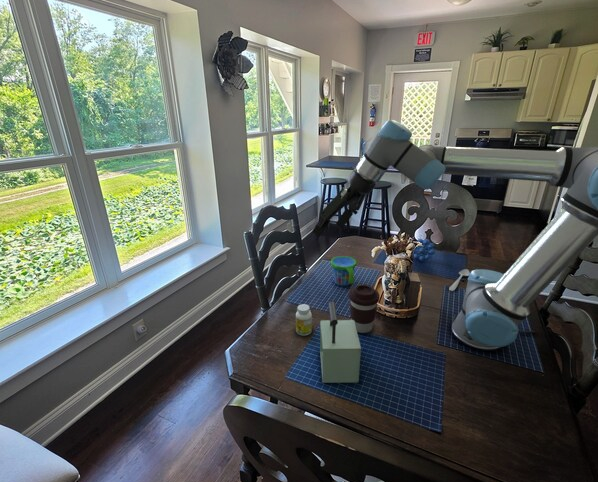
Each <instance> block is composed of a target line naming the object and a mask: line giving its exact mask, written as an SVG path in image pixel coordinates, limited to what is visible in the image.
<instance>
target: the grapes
mask: <svg viewBox="0 0 598 482" xmlns="http://www.w3.org/2000/svg"><path fill="white" fill-rule="evenodd" d="M417 241H419V242H421V243H422V245H423V246H418V247H416V248H415V250H414V254H413V255H414V257H413V259H415V260H419V262H424V261H428V260H431V259H432V257H433V256H432V255H434V254H435V253H436V250H435V249H434V248H435V243H434V242H431V241H430V239H428V238H425V239H423V238H418V239H417V240H416V242H417Z"/></svg>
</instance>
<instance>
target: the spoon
mask: <svg viewBox="0 0 598 482" xmlns="http://www.w3.org/2000/svg"><path fill="white" fill-rule="evenodd" d="M470 273H471V271H470V270H469V269H467V268H463V269H462V270H460V271H459V272H458V274H459V275H460V276H459V277H458V278H457V279H456V280H455V281H454V282H453V283H452V285H450V286H449V288H448V290H449V291H450V292H454V291H455V290H456V289H457V288H458V285H459V283H460V280H461V279H462V277H469V275H470Z"/></svg>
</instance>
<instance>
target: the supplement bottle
mask: <svg viewBox="0 0 598 482" xmlns="http://www.w3.org/2000/svg"><path fill="white" fill-rule="evenodd" d="M296 309H297V311H296V313H295V331H296V333H297V335H300V336H303V337H305V336H309V335H310V334H311V333H312V332H313V315H312V312H311V310H310V309H311V308H310V305H309V304H307V303H302V304H299V305H298V306H297V307H296Z"/></svg>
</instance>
